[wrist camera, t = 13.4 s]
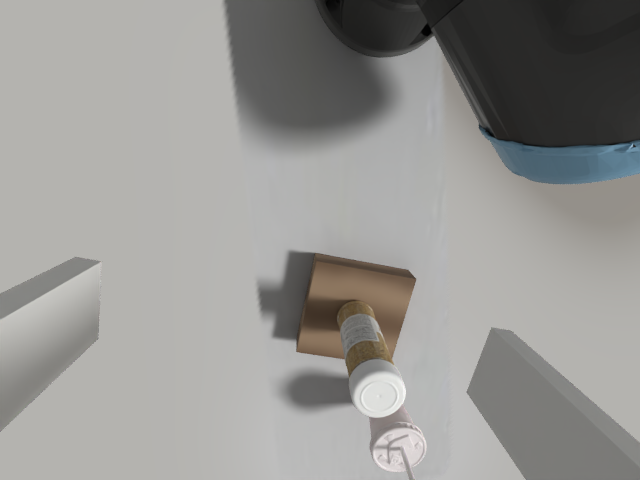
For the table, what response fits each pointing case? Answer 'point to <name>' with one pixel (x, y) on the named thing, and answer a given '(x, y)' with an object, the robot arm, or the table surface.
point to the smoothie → (396, 442)
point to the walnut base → (345, 286)
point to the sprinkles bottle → (369, 362)
